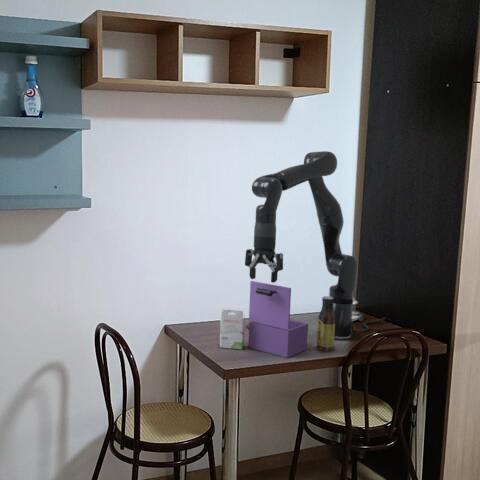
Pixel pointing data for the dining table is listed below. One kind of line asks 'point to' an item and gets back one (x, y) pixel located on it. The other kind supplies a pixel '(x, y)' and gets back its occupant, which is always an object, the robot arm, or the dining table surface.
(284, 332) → the box
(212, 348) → the dining table surface
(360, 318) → the toy car
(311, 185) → the robot arm
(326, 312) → the sauce bottle
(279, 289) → the file box lid
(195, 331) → the dining table surface
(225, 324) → the ink box
